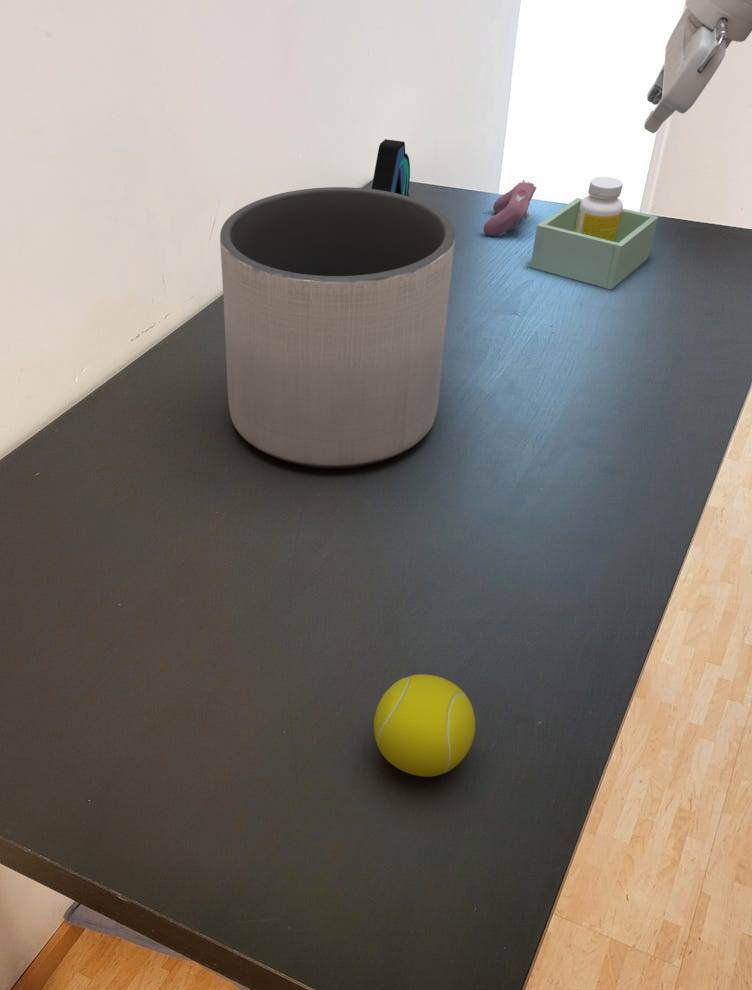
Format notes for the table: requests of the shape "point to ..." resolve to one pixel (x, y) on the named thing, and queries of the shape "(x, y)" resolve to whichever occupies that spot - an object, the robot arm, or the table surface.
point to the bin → (592, 247)
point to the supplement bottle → (601, 209)
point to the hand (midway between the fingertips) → (650, 114)
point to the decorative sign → (392, 168)
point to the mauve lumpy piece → (510, 209)
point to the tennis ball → (424, 725)
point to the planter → (335, 323)
